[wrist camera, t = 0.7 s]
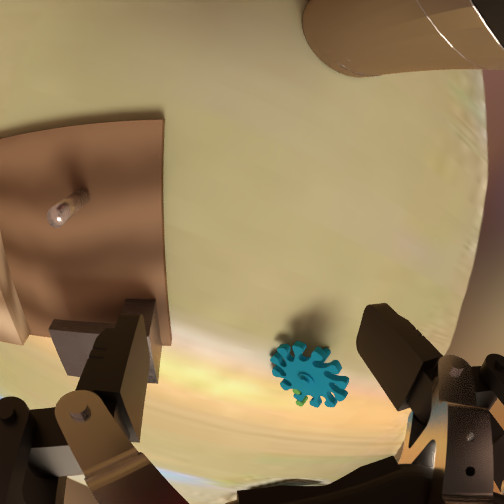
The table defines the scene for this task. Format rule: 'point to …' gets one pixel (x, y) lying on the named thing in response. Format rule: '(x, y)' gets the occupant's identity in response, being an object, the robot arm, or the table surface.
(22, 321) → the birch link
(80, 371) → the bracket
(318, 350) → the gear
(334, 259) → the table surface
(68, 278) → the wooden latch panel
